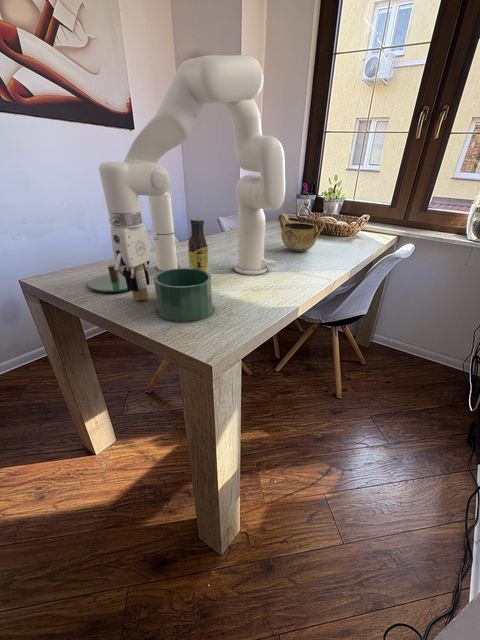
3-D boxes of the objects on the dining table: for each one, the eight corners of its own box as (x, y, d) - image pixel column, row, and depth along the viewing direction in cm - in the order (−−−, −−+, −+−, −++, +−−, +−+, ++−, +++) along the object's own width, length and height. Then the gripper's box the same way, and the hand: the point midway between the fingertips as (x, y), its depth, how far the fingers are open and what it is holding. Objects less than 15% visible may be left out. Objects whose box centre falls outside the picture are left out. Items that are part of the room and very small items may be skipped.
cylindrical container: (172, 271, 112) (164, 195, 98) (154, 269, 113) (143, 193, 99) (180, 265, 118) (174, 192, 104) (163, 263, 119) (154, 191, 105)
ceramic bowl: (326, 251, 147) (332, 217, 139) (311, 258, 135) (317, 222, 127) (285, 242, 157) (288, 210, 149) (268, 249, 144) (270, 214, 136)
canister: (213, 299, 93) (212, 268, 88) (210, 322, 81) (209, 288, 76) (163, 298, 92) (159, 267, 87) (153, 322, 80) (148, 287, 74)
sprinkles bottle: (129, 297, 90) (119, 250, 82) (143, 293, 93) (135, 247, 85) (138, 302, 87) (128, 254, 80) (152, 297, 90) (144, 251, 83)
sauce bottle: (200, 286, 101) (196, 222, 91) (186, 282, 104) (180, 219, 93) (213, 281, 106) (210, 219, 95) (199, 277, 109) (195, 216, 98)
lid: (146, 276, 106) (144, 258, 103) (135, 294, 93) (131, 274, 90) (99, 275, 105) (95, 257, 101) (80, 293, 92) (75, 273, 88)
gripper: (115, 227, 71) (131, 300, 81) (158, 215, 84) (167, 279, 94) (88, 223, 72) (107, 296, 82) (134, 212, 86) (145, 275, 96)
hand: (139, 286), depth 88 cm, fingers closed on sprinkles bottle, 4 cm apart
